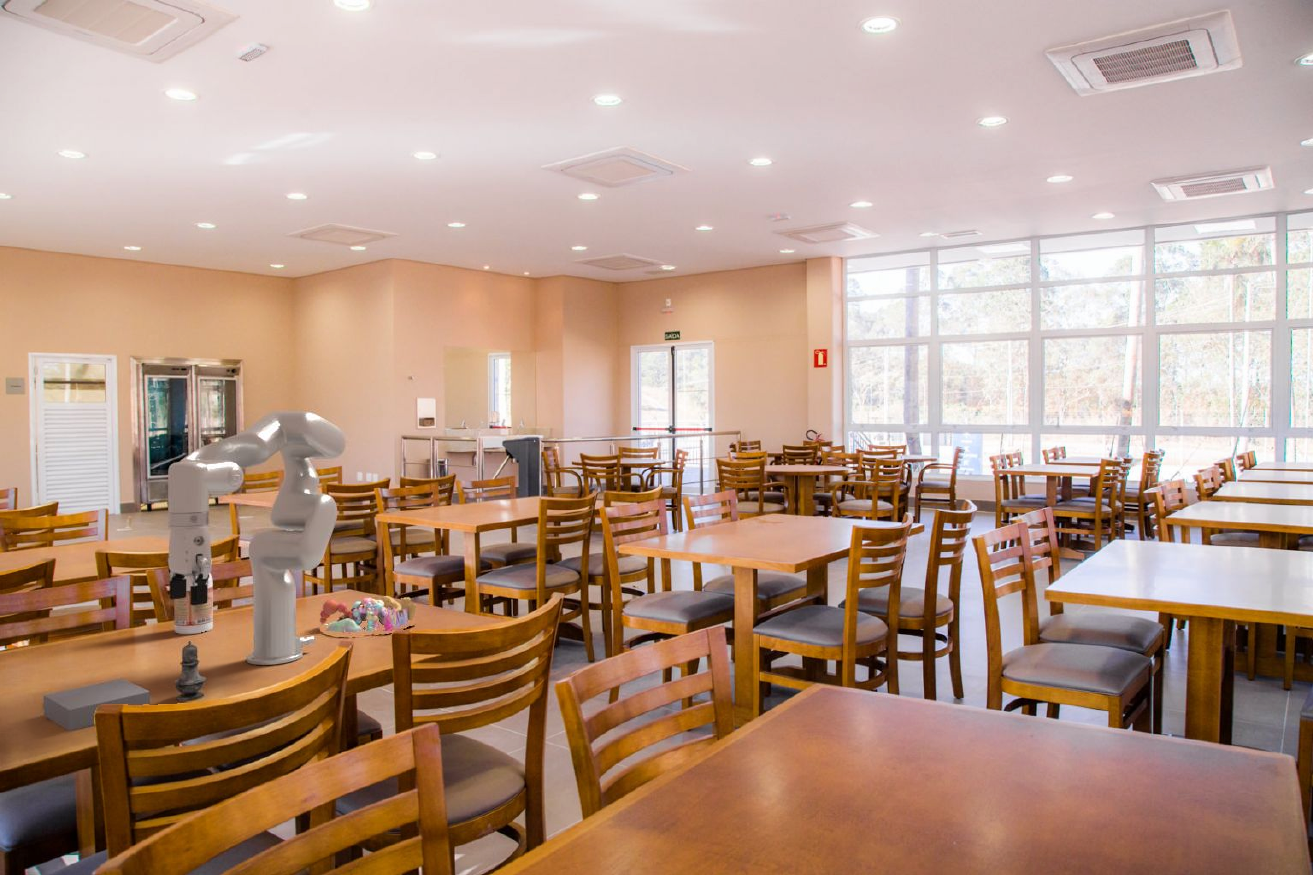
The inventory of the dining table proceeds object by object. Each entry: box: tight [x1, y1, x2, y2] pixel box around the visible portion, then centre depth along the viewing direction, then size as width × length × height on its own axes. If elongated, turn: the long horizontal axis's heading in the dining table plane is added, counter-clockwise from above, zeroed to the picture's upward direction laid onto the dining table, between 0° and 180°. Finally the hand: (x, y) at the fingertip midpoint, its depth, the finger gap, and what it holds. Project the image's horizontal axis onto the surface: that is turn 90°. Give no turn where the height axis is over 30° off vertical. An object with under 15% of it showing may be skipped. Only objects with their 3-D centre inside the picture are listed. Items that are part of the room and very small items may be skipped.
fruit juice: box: [173, 557, 214, 635], centre depth 235 cm, size 9×9×28 cm
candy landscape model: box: [319, 595, 417, 634], centre depth 240 cm, size 25×24×9 cm
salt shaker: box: [173, 640, 207, 702], centre depth 179 cm, size 6×6×12 cm
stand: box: [43, 678, 151, 732], centre depth 169 cm, size 14×14×4 cm
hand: (188, 601), depth 179 cm, fingers open, 9 cm apart
